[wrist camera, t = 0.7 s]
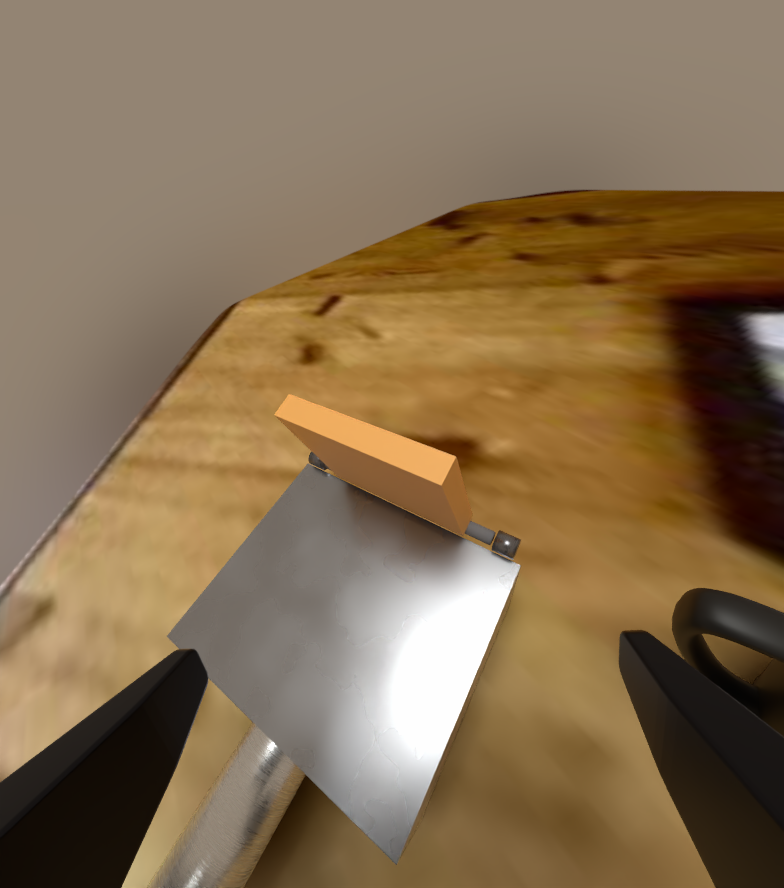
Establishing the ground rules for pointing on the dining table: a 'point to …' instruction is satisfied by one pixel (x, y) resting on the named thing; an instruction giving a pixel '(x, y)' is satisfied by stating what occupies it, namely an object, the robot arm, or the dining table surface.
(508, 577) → the block
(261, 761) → the pin
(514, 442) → the dining table surface
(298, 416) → the tan flat slab
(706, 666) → the mug
